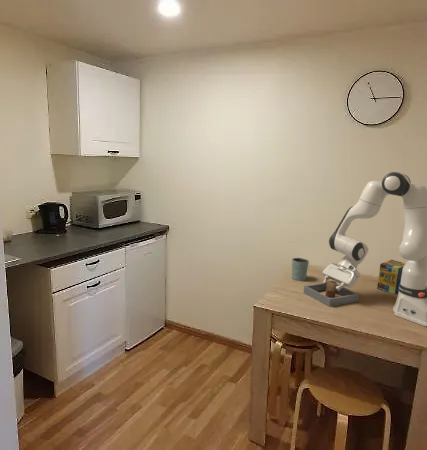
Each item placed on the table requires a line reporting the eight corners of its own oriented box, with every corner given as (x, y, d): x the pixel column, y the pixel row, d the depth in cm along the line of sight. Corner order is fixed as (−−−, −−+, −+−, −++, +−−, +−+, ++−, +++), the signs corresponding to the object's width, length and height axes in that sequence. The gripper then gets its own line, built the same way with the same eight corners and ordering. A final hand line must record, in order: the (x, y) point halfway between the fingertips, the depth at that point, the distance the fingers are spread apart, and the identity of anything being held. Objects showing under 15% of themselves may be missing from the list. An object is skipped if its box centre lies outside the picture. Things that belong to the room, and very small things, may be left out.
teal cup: (295, 281, 220) (296, 262, 217) (287, 276, 229) (289, 257, 227) (310, 281, 222) (312, 262, 220) (301, 275, 232) (303, 257, 230)
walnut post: (337, 297, 197) (338, 283, 195) (330, 298, 195) (331, 284, 193) (330, 294, 201) (331, 280, 200) (323, 295, 199) (324, 281, 197)
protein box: (376, 288, 214) (380, 263, 211) (387, 283, 224) (391, 259, 221) (394, 294, 207) (398, 268, 204) (405, 288, 217) (409, 263, 214)
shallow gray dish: (357, 301, 194) (358, 294, 193) (329, 306, 185) (330, 299, 184) (330, 288, 211) (331, 281, 211) (303, 292, 202) (304, 285, 202)
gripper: (329, 258, 207) (314, 277, 204) (358, 269, 189) (342, 289, 186) (334, 265, 210) (319, 283, 207) (363, 276, 192) (347, 296, 189)
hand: (330, 286), depth 197 cm, fingers open, 8 cm apart
